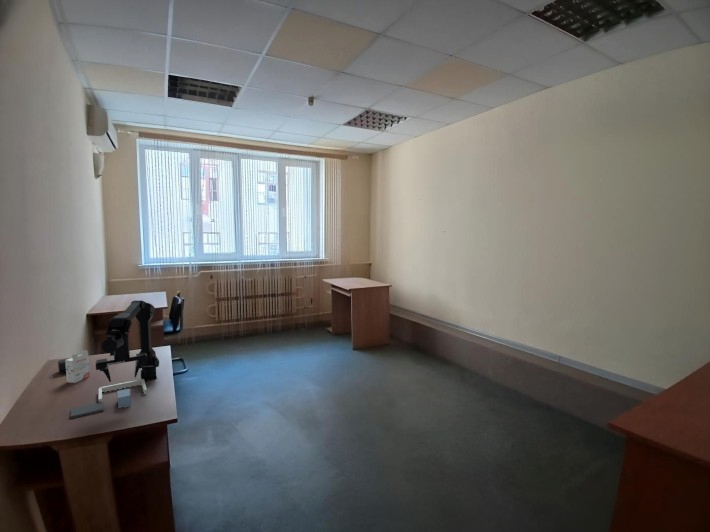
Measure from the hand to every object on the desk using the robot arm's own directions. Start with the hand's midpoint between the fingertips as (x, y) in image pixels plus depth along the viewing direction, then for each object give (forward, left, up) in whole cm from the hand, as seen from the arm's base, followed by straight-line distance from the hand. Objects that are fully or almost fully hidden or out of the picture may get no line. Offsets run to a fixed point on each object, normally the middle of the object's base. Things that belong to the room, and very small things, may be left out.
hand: (122, 379), depth 155 cm
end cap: (+22, -59, -12) cm, 64 cm away
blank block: (0, 0, -11) cm, 11 cm away
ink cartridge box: (+18, -43, -11) cm, 48 cm away
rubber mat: (+13, -1, -11) cm, 17 cm away
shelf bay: (0, -13, -11) cm, 17 cm away
